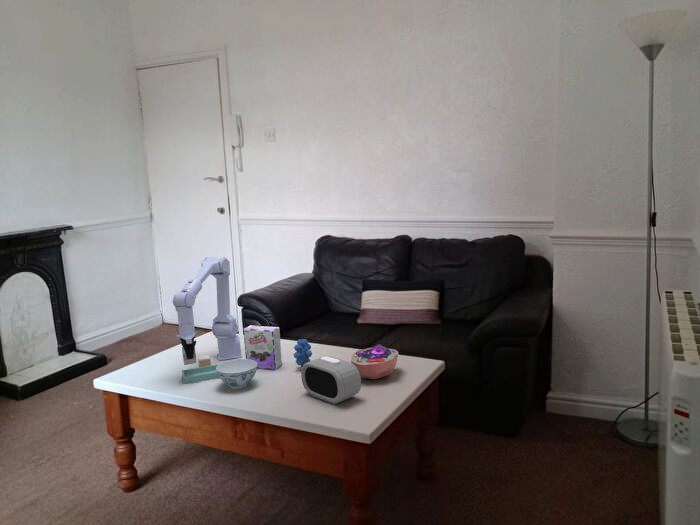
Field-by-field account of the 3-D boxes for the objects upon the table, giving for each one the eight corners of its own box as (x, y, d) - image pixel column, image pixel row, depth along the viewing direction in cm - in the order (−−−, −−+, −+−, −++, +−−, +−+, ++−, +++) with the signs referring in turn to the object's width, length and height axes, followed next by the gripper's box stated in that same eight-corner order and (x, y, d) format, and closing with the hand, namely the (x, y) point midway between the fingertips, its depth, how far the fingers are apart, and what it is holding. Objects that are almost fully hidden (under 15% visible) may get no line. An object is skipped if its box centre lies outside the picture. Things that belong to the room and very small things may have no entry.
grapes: (305, 373, 223) (303, 343, 221) (291, 371, 226) (288, 342, 224) (320, 363, 233) (318, 334, 231) (305, 361, 236) (303, 333, 234)
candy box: (245, 367, 233) (242, 328, 230) (253, 362, 238) (250, 324, 236) (275, 370, 228) (272, 330, 225) (282, 365, 233) (279, 326, 231)
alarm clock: (301, 393, 203) (299, 357, 201) (321, 385, 210) (319, 350, 207) (341, 409, 188) (339, 370, 186) (362, 399, 195) (360, 362, 193)
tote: (220, 370, 232) (219, 364, 231) (223, 377, 223) (222, 371, 223) (182, 376, 227) (181, 370, 227) (184, 384, 218) (183, 377, 218)
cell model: (340, 379, 215) (338, 350, 213) (375, 364, 229) (373, 336, 227) (375, 389, 203) (373, 359, 201) (409, 372, 218) (408, 344, 216)
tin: (195, 359, 226) (194, 344, 225) (196, 363, 221) (195, 348, 220) (183, 361, 224) (181, 346, 223) (184, 365, 220) (182, 350, 219)
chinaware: (209, 387, 213) (207, 367, 212) (241, 375, 224) (240, 356, 223) (234, 396, 204) (233, 375, 202) (267, 383, 215) (265, 363, 213)
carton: (210, 365, 239) (209, 354, 238) (211, 368, 234) (210, 358, 233) (198, 367, 237) (197, 356, 236) (199, 370, 233) (198, 359, 232)
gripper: (174, 319, 226) (178, 352, 228) (176, 328, 212) (180, 364, 214) (192, 317, 228) (196, 350, 230) (196, 326, 214) (199, 361, 217)
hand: (189, 356), depth 222 cm, fingers closed on tin, 5 cm apart
